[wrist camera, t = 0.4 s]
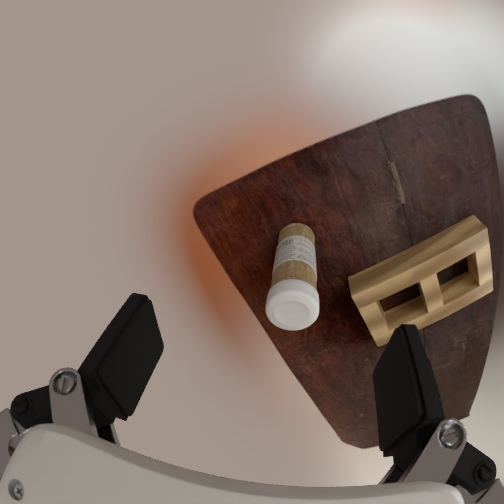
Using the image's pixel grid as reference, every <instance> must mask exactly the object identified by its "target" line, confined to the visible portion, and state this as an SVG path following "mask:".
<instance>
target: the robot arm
mask: <svg viewBox="0 0 504 504" xmlns="http://www.w3.org/2000/svg"><path fill="white" fill-rule="evenodd" d="M163 348H164V345H163V341H162V337H161V334H160V330H159V327H158V323H157V320H156V316H155V312H154V308H153V305H152V301H151V300H149V299H148V297H147V296H146V295H142V294H137V293H132V294H131V295H130V297H129V298H128V299H127V301H126V302H125V303H124V305H123V306H122V307H121V309H120V310H119V311H118V313H117V314H116V316H115V317H114V318H113V320H112V321H111V322H110V324H109V325H108V326H107V328H106V330H105V331H104V332H103V334H102V335H101V336H100V338H99V339H98V341H97V342H96V344H95V345H94V347H93V348H92V350H91V351H90V352H89V354H88V355H87V357H86V359H85V360H84V362H83V363H82V364H81V366H80V368H79V369H78V371H76V370H75V369H73V368H62V369H60V370H58V371H56V372H55V373H54V374H53V376H52V377H51V379H50V382H49V385H48V386H45V387H41V388H38V389H35V390H32V391H29V392H25V393H22V394H20V395H18V396H16V397H15V398H14V400H13V401H12V404H11V409H10V410H9V409H8V408H6V409H5V410H3V411H2V412H0V504H504V485H503V483H502V482H501V480H500V479H499V478H498V479H496V478H495V477H496V465H495V463H494V461H493V460H491V459H490V458H489V457H488V456H486V455H485V454H483V453H482V452H481V451H479V450H478V449H476V448H475V447H473V446H472V445H471V444H469V443H468V442H467V431H466V428H465V426H464V425H463V423H461V422H460V421H459V420H457V419H454V418H448V419H445V416H444V411H443V407H442V403H441V399H440V395H439V391H438V387H437V383H436V380H435V376H434V373H433V369H432V366H431V363H430V361H429V359H428V358H427V356H426V353H425V350H424V347H423V344H422V341H421V338H420V335H419V332H418V329H417V327H416V325H415V324H401V325H400V326H399V327H398V328H395V330H394V332H393V334H392V336H391V338H390V340H389V342H388V344H387V346H386V348H385V350H384V352H383V354H382V356H381V358H380V360H379V362H378V363H377V365H376V367H375V369H374V372H373V384H374V392H375V401H376V410H377V421H378V434H379V448H380V450H381V451H383V456H384V457H389V456H393V458H394V459H393V460H394V464H393V466H392V467H391V468H390V470H389V471H388V472H387V474H386V475H385V476H384V478H383V479H382V480H381V481H380V482H379V484H378V485H367V486H351V487H350V486H348V487H299V486H284V485H273V484H263V483H255V482H248V481H241V480H235V479H230V478H224V477H219V476H215V475H210V474H205V473H201V472H197V471H193V470H189V469H185V468H181V467H178V466H175V465H171V464H168V463H165V462H162V461H159V460H156V459H153V458H150V457H147V456H144V455H141V454H138V453H136V452H133V451H130V450H128V449H125V448H123V447H121V446H120V443H119V440H118V437H117V434H116V431H115V428H114V425H113V422H114V420H115V418H116V417H117V418H119V419H122V420H124V421H126V420H127V418H128V416H131V415H132V414H133V413H134V411H135V409H136V406H137V404H138V402H139V400H140V398H141V396H142V394H143V392H144V389H145V387H146V385H147V383H148V381H149V379H150V377H151V375H152V373H153V371H154V369H155V367H156V364H157V363H158V361H159V359H160V357H161V355H162V352H163Z"/></svg>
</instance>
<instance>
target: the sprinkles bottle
mask: <svg viewBox="0 0 504 504" xmlns="http://www.w3.org/2000/svg"><path fill="white" fill-rule="evenodd" d="M314 244H315V236H314V234H313V232H312V230H311V229H310V228H309V227H308V226H306V225H304V224H300V223H292V224H289V225H287V226H286V227H284V228H283V229H282V230H281V232H280V234H279V237H278V246H277V250H276V256H275V261H274V267H273V273H272V284H271V289H270V290H269V293H268V295H267V301H266V315H267V317H268V319H269V320H270V321H271V322H272V323H273V324H274V325H275V326H277V327H279V328H282V329H285V330H301V329H304V328H306V327H308V326H310V325H311V324H313V323H314V322H315V320H316V319H317V317H318V314H319V296H318V293H317V287H316V281H317V273H316V255H315V247H314Z"/></svg>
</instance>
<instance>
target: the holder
mask: <svg viewBox="0 0 504 504" xmlns="http://www.w3.org/2000/svg"><path fill="white" fill-rule="evenodd" d="M465 257H466V258H467V264H468V271H466V272H464V273H463V274H461V275H459V276H457V277H455V278H453V279H452V280H450V281H448V282H446V283H444V284H442V285H440V286H439V282H438V278H437V274H436V273H437V272H439V271H441V270H443V269H445V268H447V267H449V266H451V265H452V264H454V263H456V262H458V261H460V260H461V259H463V258H465ZM348 282H349V287H350V293H351V297H352V299H353V301H354V303H355V304H356V306H357V308H358V310H359V312H360V314H361V316H362V317H363V319H364V321H365V323H366V325H367V327H368V329H369V331H370V333H371V335H372V337H373V339H374V340H375V342H376V344H377V346H378V347H379V346H381V345H384V344H386V343H388V342H389V340H390V338H391V336H392V334H393V332H394V330H395V328H398V327H399V326H400V325H401V324H415V325H416V327H417V329H418V330H419V329H421V328H423V327H426V326H428V325H430V324H432V323H434V322H436V321H438V320H440V319H442V318H444V317H446V316H448V315H450V314H452V313H454V312H456V311H458V310H460V309H461V308H463V307H465V306H467V305H469V304H471V303H472V302H474V301H476V300H478V299H479V298H481V297H483V296H485V295H486V294H488V293H490V292H491V291H493V279H492V265H491V254H490V245H489V238H488V231H487V227H486V226H485V225H484V224H483V223H482V222H480V221H479V220H478V219H477V218H476V217H475V216H474V215H473V214H472V215H470V216H469V217H467V218H465V219H463V220H462V221H460V222H458V223H456V224H454V225H452V226H451V227H449V228H447V229H445V230H443V231H441V232H440V233H438V234H436V235H434V236H432V237H430V238H428V239H426V240H424V241H422V242H420V243H419V244H417V245H415V246H413V247H411V248H409V249H407V250H405V251H403V252H401V253H399V254H397V255H395V256H393V257H391V258H388V259H386V260H384V261H382V262H380V263H378V264H376V265H374V266H372V267H370V268H367V269H365V270H363V271H361V272H359V273H357V274H355V275H352V276H350V277H348ZM415 283H417V285H418V288H419V291H420V296H418V297H416V298H414V299H412V300H410V301H407V302H405V303H403V304H401V305H399V306H397V307H394V308H392V309H390V310H388V311H385V312H384V311H383V309H382V306H381V304H380V302H379V300H381V299H383V298H386V297H388V296H390V295H392V294H394V293H397V292H399V291H401V290H403V289H405V288H407V287H409V286H411V285H413V284H415Z"/></svg>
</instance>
